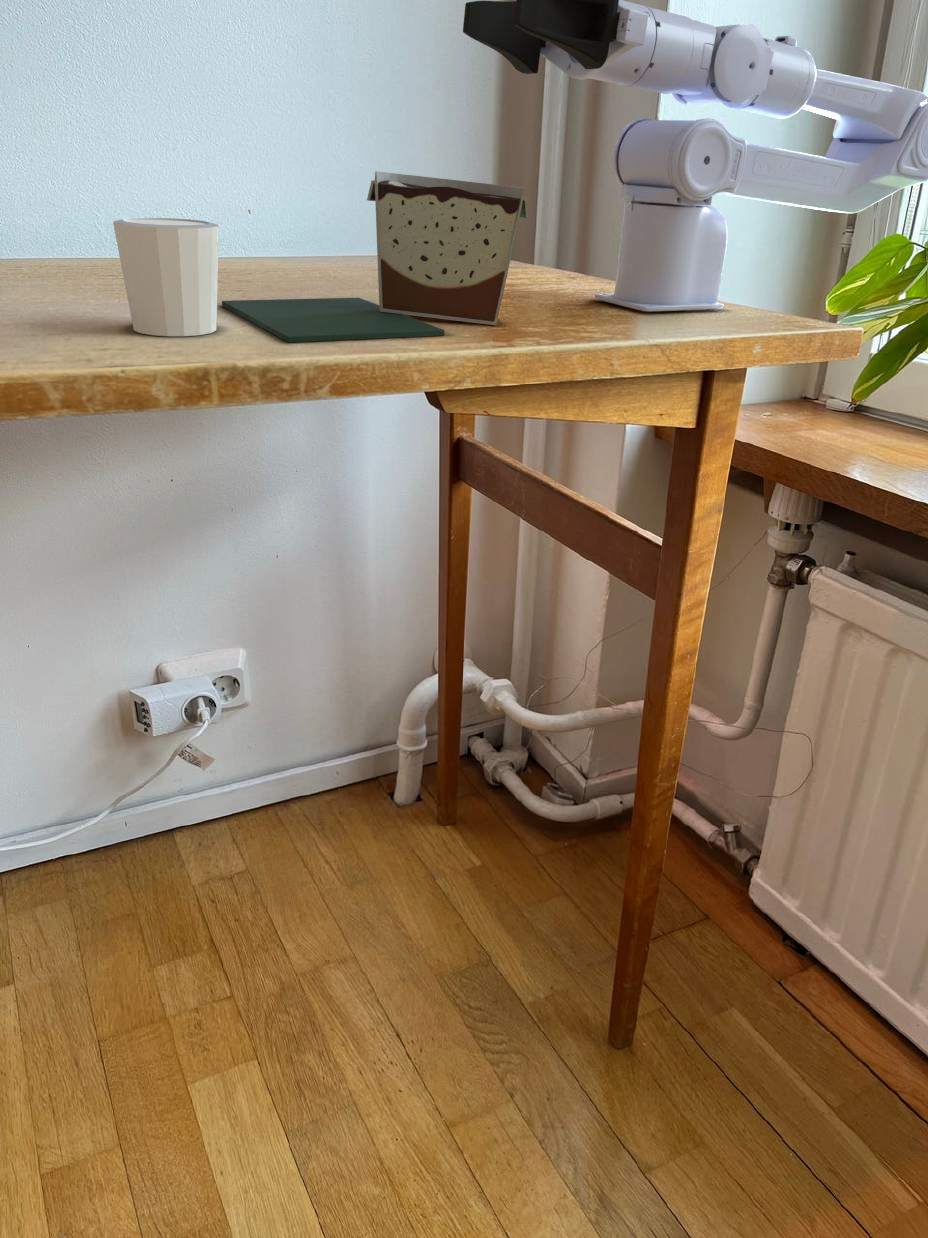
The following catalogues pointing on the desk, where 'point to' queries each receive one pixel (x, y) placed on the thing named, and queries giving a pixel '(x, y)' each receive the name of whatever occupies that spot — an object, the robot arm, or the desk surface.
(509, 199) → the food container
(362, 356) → the desk surface
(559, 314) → the desk surface
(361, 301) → the mat
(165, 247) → the white cup
